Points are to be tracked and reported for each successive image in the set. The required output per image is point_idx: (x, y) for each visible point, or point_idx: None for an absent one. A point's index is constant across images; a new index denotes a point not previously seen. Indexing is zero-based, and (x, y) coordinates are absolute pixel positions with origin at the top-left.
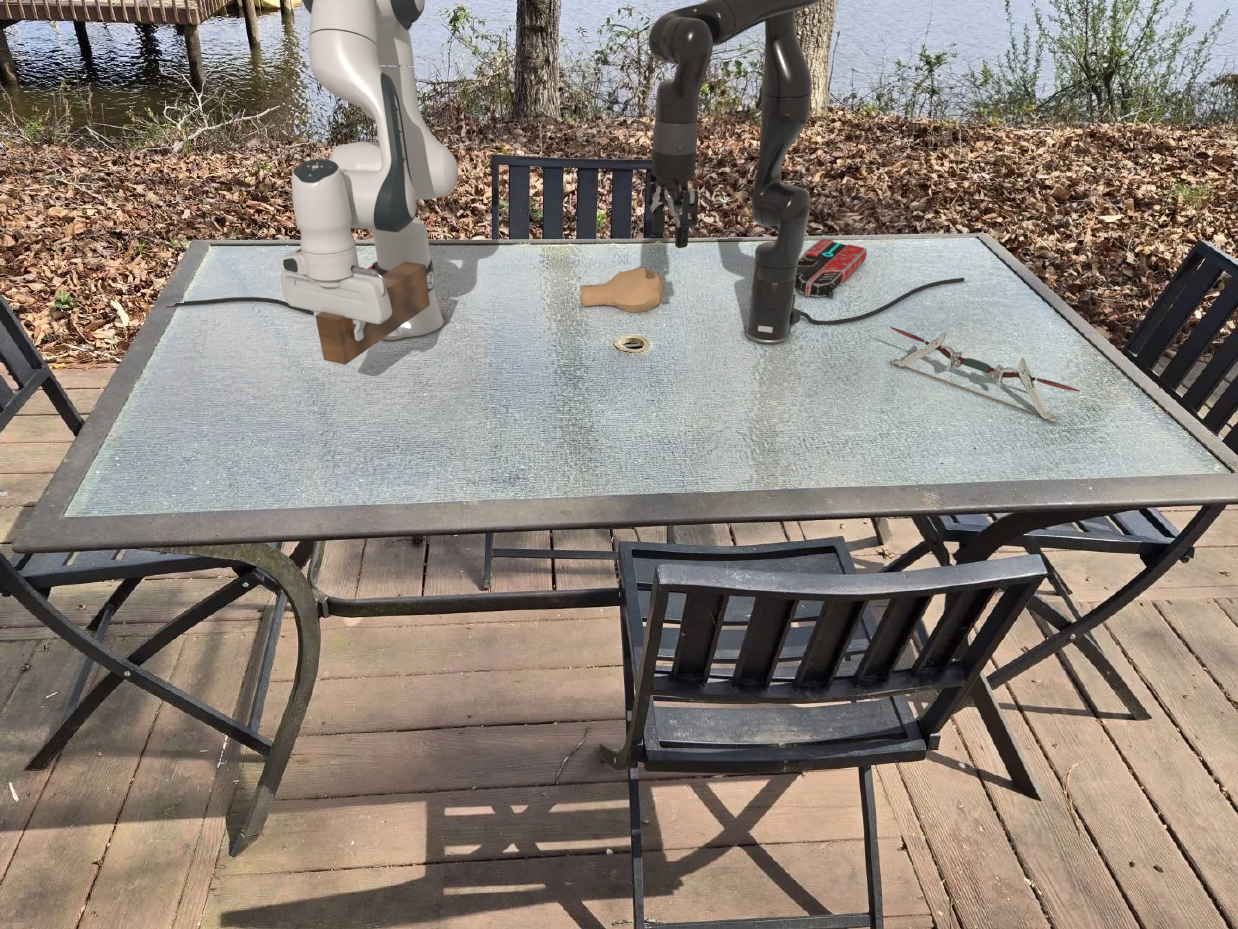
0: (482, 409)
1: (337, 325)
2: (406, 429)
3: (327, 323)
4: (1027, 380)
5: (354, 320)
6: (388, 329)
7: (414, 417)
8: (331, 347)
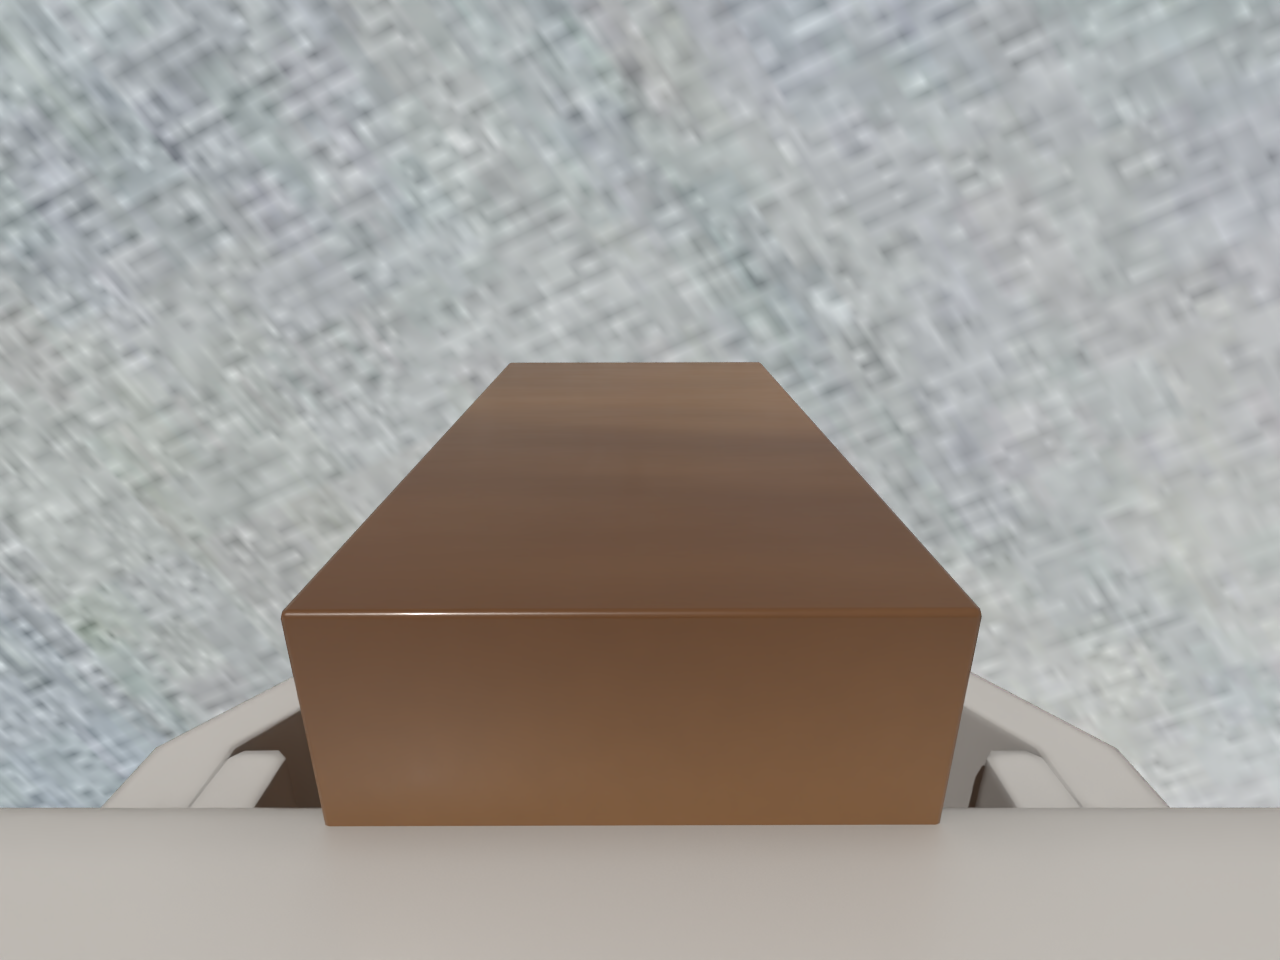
0: (99, 621)
1: (373, 544)
2: (262, 324)
3: (631, 541)
4: None
5: (210, 805)
6: None
7: (313, 441)
8: (639, 401)
